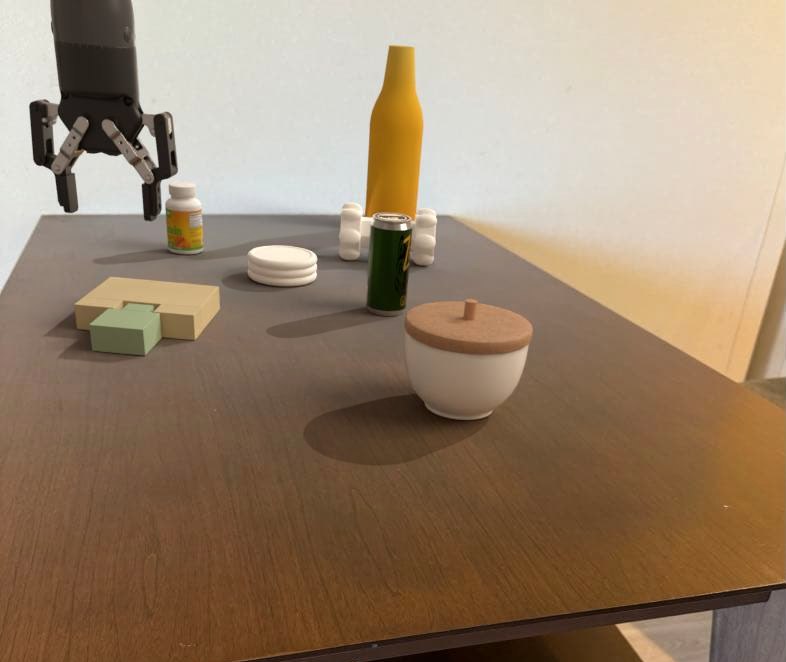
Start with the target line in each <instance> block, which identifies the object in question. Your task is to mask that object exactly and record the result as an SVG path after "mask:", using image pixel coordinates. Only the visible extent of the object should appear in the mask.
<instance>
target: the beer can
mask: <svg viewBox="0 0 786 662" xmlns="http://www.w3.org/2000/svg"><path fill="white" fill-rule="evenodd" d="M412 228H413V227H412V224H411V217H409V216H407V215H403V214H397V213H377V214H374V215H373V220H372V222H371V224H370V242H369V248H368V261H367V278H366V279H367V280H366V297H365V298H366V299H365V305H366V307H367V310H368V312H369V313H371V314H374V315H376V316H377V315H378V316H381V317H396V316H400V315H402V314H403V313H404V312H405V311H406V308H407V302H408V300H407V299H408V288H409V274H410V264H411V253H412V252H411V240H412Z"/></svg>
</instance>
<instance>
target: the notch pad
mask: <svg viewBox="0 0 786 662" xmlns="http://www.w3.org/2000/svg"><path fill="white" fill-rule="evenodd" d="M128 303H132V304H143V305H153V306H154V313H160V324H161V337H162V338H164V339H165V338H167V339H177V340H185V341H187V340H188V341H196V340H197V338H198V337H199V336H200V335H201V334H202V332H203V331H204V330H205V329H206V328H207V326H208V325H209V324H210V322H211V321H212V320H213V319H214V317H215V316H216V315H217V314H218V313H219V311H220V310H221V302H220V286H216V285H206V284H197V283H194V284H193V283H186V282H185V283H184V282H174V281H165V280H163V281H161V280H153V279H142V278H141V279H140V278H130V277H119V276H109V277H108V278H107V279H105V280H104V281H103V282H101V283H100V284H98V286H96V287H95V288H94V289H92V290H91V291H90V292H88V293H87V294H85V295H84V296H83V297H82V298H80V299H79V300H77V301H76V302H75V303H74V304H73V305H74V306H73V307H74V314H75V323H76V329H77V330H79V331H80V330H81V331H90V328H89V324H91V323H92V322H93V321H94V320H95V319H96V318H98V317H99V316H100V315H101V314H102V313H104V312H105V311H106V310H107V309H108V308H110V309H121V310H122V309H123V308H124V307H125V306H126V305H127V304H128Z"/></svg>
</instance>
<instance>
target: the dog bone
mask: <svg viewBox="0 0 786 662" xmlns="http://www.w3.org/2000/svg"><path fill="white" fill-rule="evenodd" d="M363 212H364V210H363V207H362V206H361V205H360V204H358V203H357V202H346V203H344V204H343V205H342V206H341V211H340V214H339V217H340V228H339V230H340V231H339V234H338V239H339V249H338V255H339V257H340V258H341V259H343V260H345V261H356V260H358V258H360V257H361V249H369V242H370V224H371V222H372V220H373V218H369V217H365V216H363ZM411 224H412V227H413V228H412V240H411V252H410V253H411V254H412V261H413V262H414V264H416V265H417V266H421V267H423V266H424V267H425V266H429V265H431V264H432V263H434V260H435V257H434V255H435V254H434V252H435V247H436V244H437V241H436V233H437V232H436V231H437V224H438V219H437V213H436V211H435V210H434V209H431V208H428V207H422V208H420V209H418V210H416V214H415V221H411Z"/></svg>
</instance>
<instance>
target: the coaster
mask: <svg viewBox="0 0 786 662" xmlns="http://www.w3.org/2000/svg"><path fill="white" fill-rule="evenodd" d="M246 258H247V263H246V264H247V268H248V269H247V276H248V277H249V278H250V279H251V280H252V281H254V282H256V283H259V284H263V285H266V286H271V287H272V286H274V287H298V286H306V285H309V284H312V283H313V282H314V281H315V280H316V279H317V277H318V273H317V270H318V265H317V262H318V257H317V255H316V253H315V252H313V251H311V250H310V249H307V248H304V247H298V246H292V245H282V244H281V245H279V244H277V245H275V244H274V245H263V246H257V247H254V248H252V249H251V250H249V251H248V252H247V255H246Z"/></svg>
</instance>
